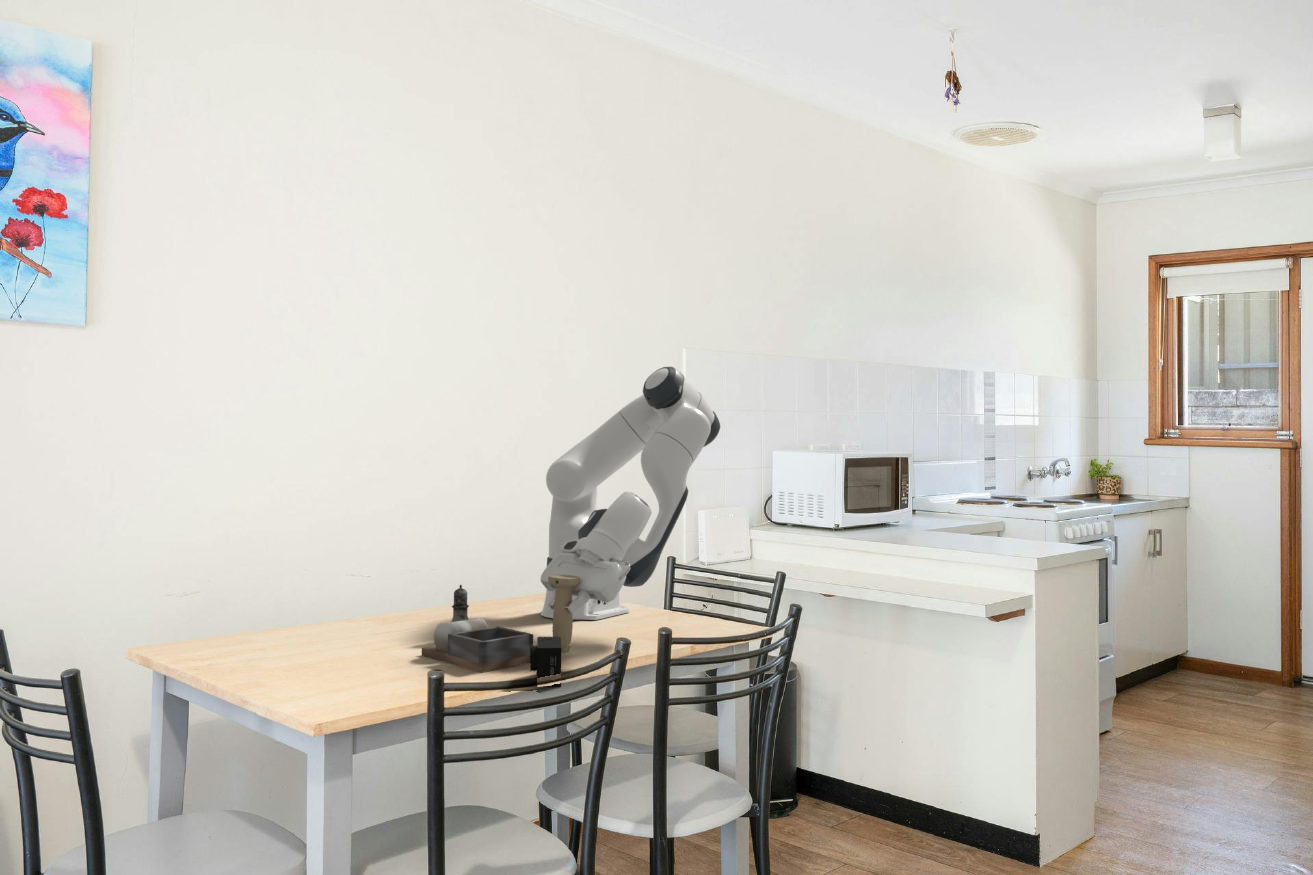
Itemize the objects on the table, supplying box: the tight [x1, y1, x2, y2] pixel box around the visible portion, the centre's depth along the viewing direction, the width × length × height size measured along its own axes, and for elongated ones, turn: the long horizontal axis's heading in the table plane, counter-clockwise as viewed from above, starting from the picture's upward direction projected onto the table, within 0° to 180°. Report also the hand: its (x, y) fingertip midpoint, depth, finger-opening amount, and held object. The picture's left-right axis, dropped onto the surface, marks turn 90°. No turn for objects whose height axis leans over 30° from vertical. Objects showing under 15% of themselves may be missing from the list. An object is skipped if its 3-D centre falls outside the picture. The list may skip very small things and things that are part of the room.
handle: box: [548, 575, 580, 655], centre depth 202 cm, size 5×6×15 cm
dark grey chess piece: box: [450, 584, 470, 622], centre depth 217 cm, size 6×6×12 cm
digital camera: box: [529, 636, 563, 688], centre depth 183 cm, size 10×5×7 cm, turn 6°
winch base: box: [421, 617, 534, 673], centre depth 199 cm, size 12×20×7 cm, turn 46°
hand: (560, 609), depth 201 cm, fingers closed on handle, 3 cm apart
